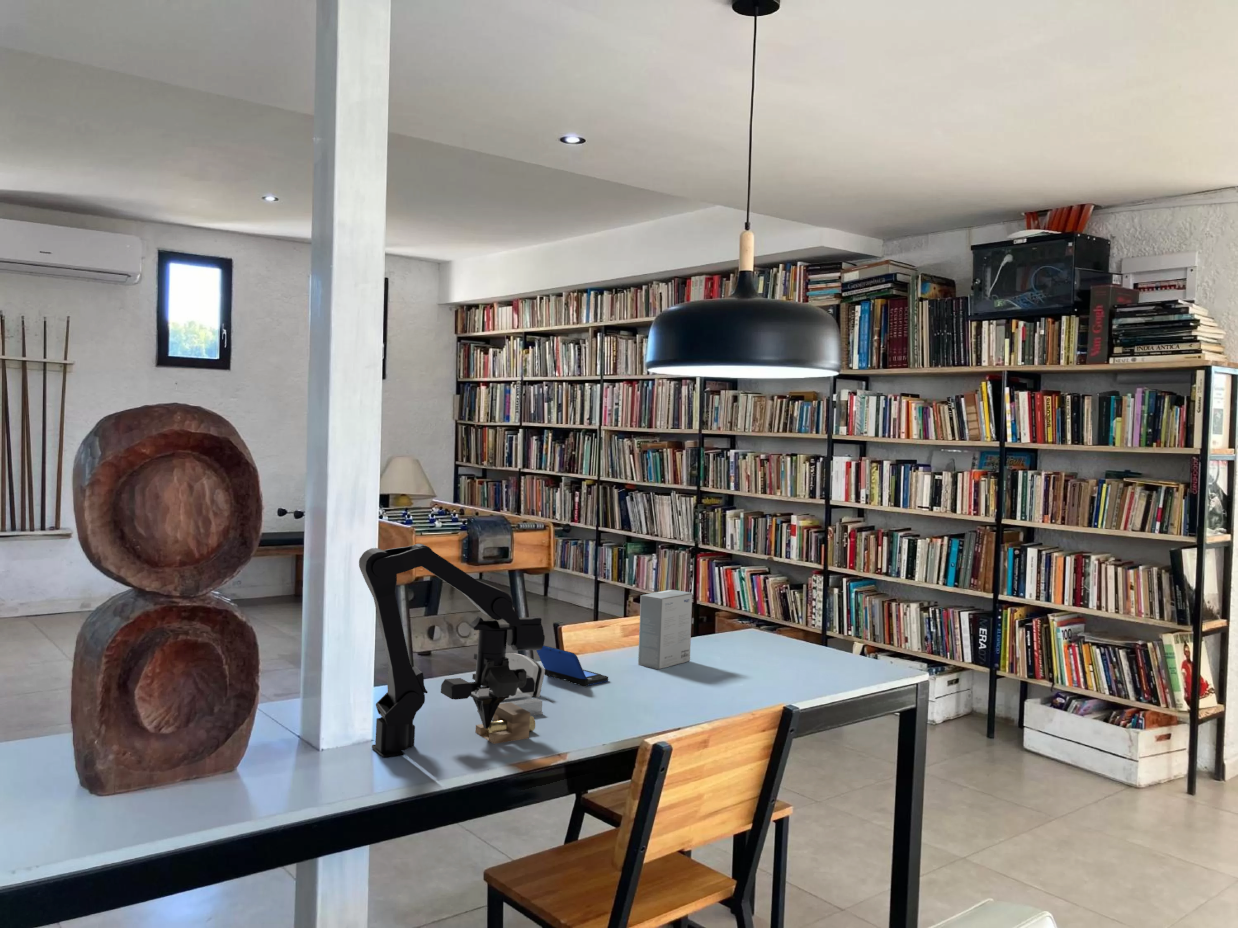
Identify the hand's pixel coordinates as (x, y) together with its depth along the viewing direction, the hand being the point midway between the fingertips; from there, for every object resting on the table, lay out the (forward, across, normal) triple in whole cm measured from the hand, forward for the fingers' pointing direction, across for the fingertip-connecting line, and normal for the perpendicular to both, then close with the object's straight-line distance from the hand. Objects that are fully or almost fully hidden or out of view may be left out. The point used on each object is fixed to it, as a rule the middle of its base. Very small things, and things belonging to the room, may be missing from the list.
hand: (485, 727), depth 186 cm
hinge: (+2, +24, +31) cm, 40 cm away
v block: (+2, +13, +13) cm, 18 cm away
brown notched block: (+3, +4, 0) cm, 5 cm away
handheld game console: (+2, +43, +35) cm, 55 cm away
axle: (+2, +6, 0) cm, 6 cm away
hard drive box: (+1, +77, +39) cm, 86 cm away
